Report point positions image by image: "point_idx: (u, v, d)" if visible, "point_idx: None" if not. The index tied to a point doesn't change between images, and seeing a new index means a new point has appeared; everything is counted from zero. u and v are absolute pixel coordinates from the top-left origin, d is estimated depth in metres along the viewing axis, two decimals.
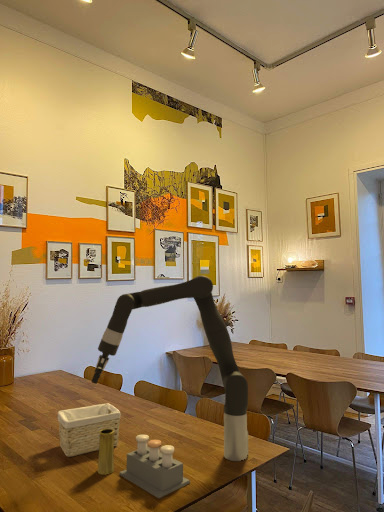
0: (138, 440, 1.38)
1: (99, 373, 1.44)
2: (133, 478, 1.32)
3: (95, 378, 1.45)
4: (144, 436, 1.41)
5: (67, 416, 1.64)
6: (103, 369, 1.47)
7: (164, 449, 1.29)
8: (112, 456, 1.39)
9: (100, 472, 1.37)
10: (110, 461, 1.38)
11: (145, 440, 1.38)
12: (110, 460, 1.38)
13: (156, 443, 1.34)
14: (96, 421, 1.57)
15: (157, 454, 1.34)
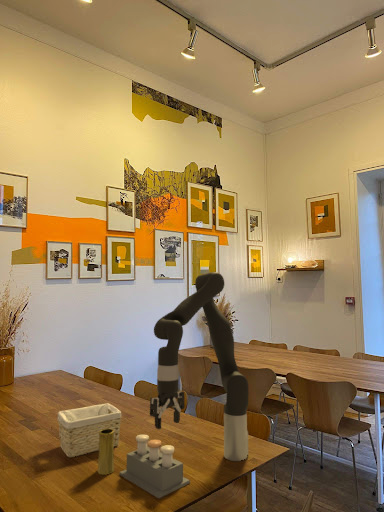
0: (138, 440, 1.38)
1: None
2: (133, 478, 1.32)
3: None
4: (144, 436, 1.41)
5: (67, 417, 1.64)
6: None
7: (164, 449, 1.29)
8: (112, 456, 1.39)
9: (100, 472, 1.37)
10: (110, 461, 1.38)
11: (145, 440, 1.38)
12: (110, 460, 1.38)
13: (156, 443, 1.34)
14: (97, 421, 1.56)
15: (157, 454, 1.34)
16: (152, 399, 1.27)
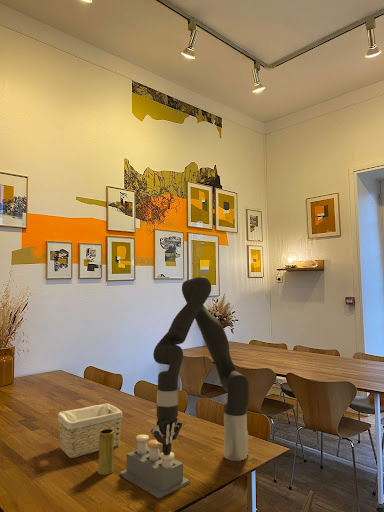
0: (138, 440, 1.38)
1: None
2: (133, 478, 1.32)
3: None
4: (144, 436, 1.41)
5: (67, 417, 1.63)
6: None
7: (164, 455, 1.29)
8: (112, 456, 1.39)
9: (100, 472, 1.37)
10: (110, 461, 1.38)
11: (145, 440, 1.38)
12: (110, 460, 1.38)
13: (156, 443, 1.34)
14: (99, 421, 1.56)
15: (157, 454, 1.34)
16: (153, 432, 1.27)
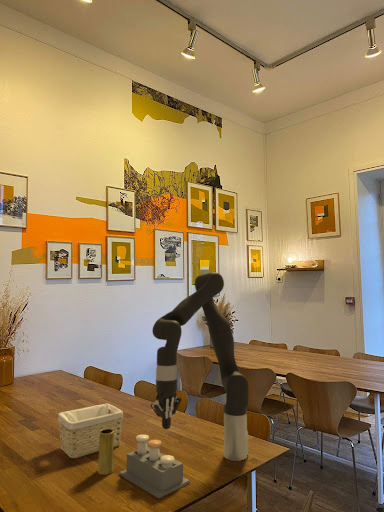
0: (138, 440, 1.38)
1: None
2: (133, 478, 1.32)
3: None
4: (144, 436, 1.41)
5: (68, 418, 1.62)
6: None
7: (164, 459, 1.29)
8: (112, 456, 1.39)
9: (100, 472, 1.37)
10: (110, 461, 1.38)
11: (145, 440, 1.38)
12: (110, 460, 1.38)
13: (156, 443, 1.34)
14: (100, 421, 1.56)
15: (157, 454, 1.34)
16: (152, 406, 1.28)
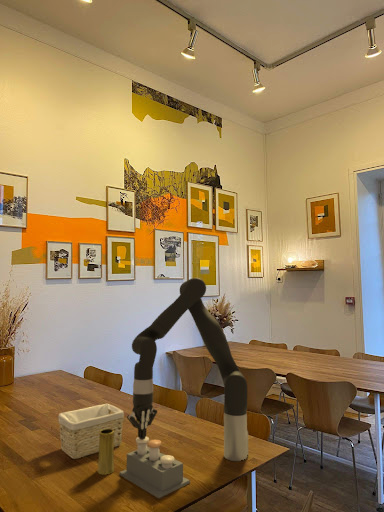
0: (138, 442, 1.38)
1: None
2: (133, 478, 1.32)
3: None
4: None
5: (68, 418, 1.61)
6: None
7: (164, 459, 1.29)
8: (112, 456, 1.39)
9: (100, 472, 1.37)
10: (110, 461, 1.38)
11: (145, 442, 1.38)
12: (110, 460, 1.38)
13: (156, 443, 1.34)
14: (101, 421, 1.56)
15: (157, 454, 1.34)
16: (128, 418, 1.37)
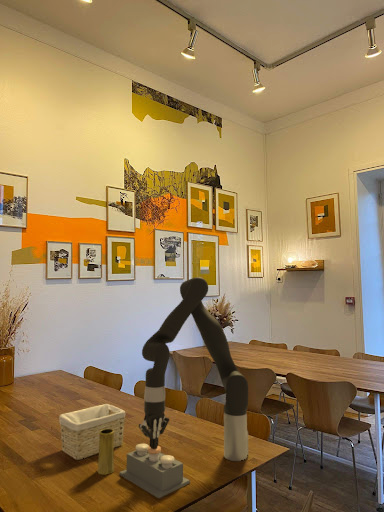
0: (138, 450, 1.38)
1: None
2: (133, 478, 1.32)
3: None
4: (144, 445, 1.40)
5: (69, 419, 1.60)
6: None
7: (164, 459, 1.29)
8: (112, 456, 1.39)
9: (100, 472, 1.37)
10: (110, 461, 1.38)
11: (145, 450, 1.38)
12: (110, 460, 1.38)
13: (156, 449, 1.34)
14: (104, 422, 1.56)
15: (157, 460, 1.33)
16: (140, 427, 1.32)
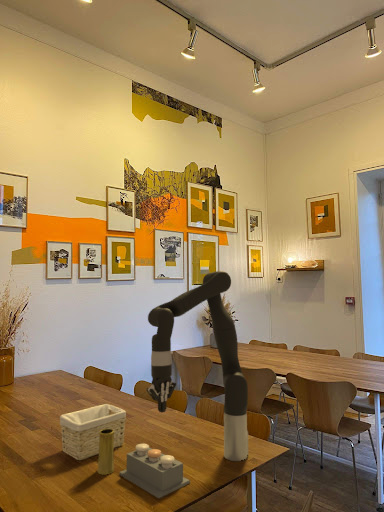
0: (138, 450, 1.38)
1: None
2: (133, 478, 1.32)
3: None
4: (144, 445, 1.40)
5: (69, 420, 1.60)
6: None
7: (164, 459, 1.29)
8: (112, 456, 1.39)
9: (100, 472, 1.37)
10: (110, 461, 1.38)
11: (145, 450, 1.38)
12: (110, 460, 1.38)
13: (156, 453, 1.34)
14: (105, 422, 1.56)
15: None
16: (148, 390, 1.33)
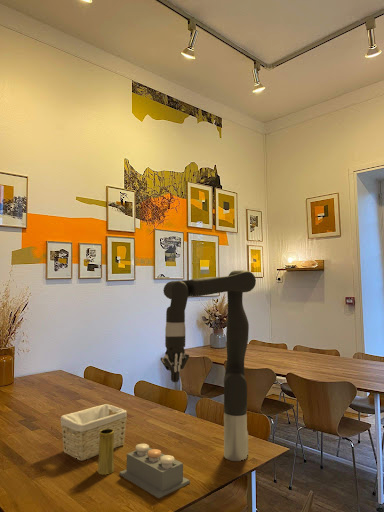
0: (138, 450, 1.38)
1: None
2: (133, 478, 1.32)
3: None
4: (144, 445, 1.40)
5: None
6: None
7: (164, 459, 1.29)
8: (112, 456, 1.39)
9: (100, 472, 1.37)
10: (110, 461, 1.38)
11: (145, 450, 1.38)
12: (110, 460, 1.38)
13: (156, 453, 1.34)
14: (107, 422, 1.56)
15: None
16: (162, 360, 1.36)
